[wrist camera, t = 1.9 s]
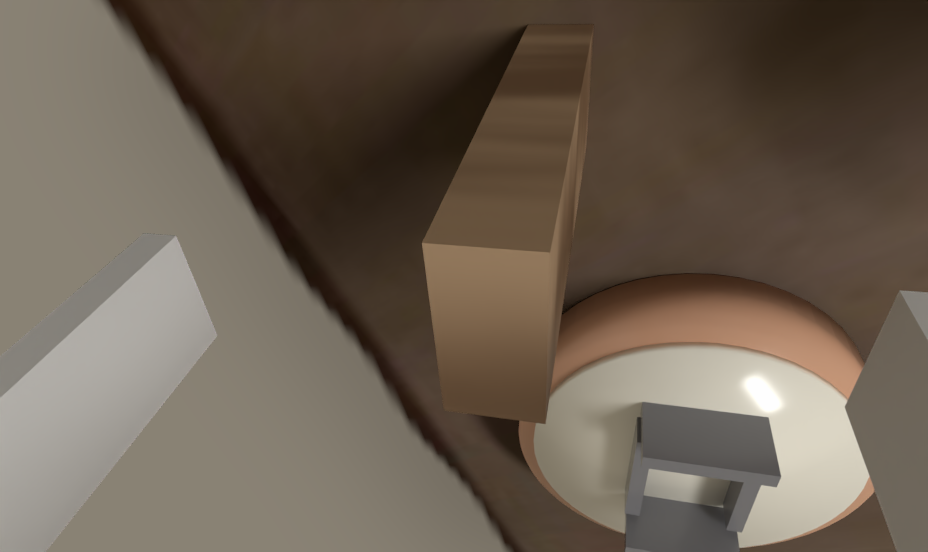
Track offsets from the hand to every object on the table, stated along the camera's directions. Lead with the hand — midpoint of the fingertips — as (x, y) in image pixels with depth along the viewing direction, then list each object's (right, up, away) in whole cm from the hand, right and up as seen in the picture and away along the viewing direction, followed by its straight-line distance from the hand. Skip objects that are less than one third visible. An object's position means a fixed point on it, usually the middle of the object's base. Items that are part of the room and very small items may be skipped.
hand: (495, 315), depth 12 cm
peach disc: (+9, -5, +15) cm, 18 cm away
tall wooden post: (+2, +7, +8) cm, 11 cm away
